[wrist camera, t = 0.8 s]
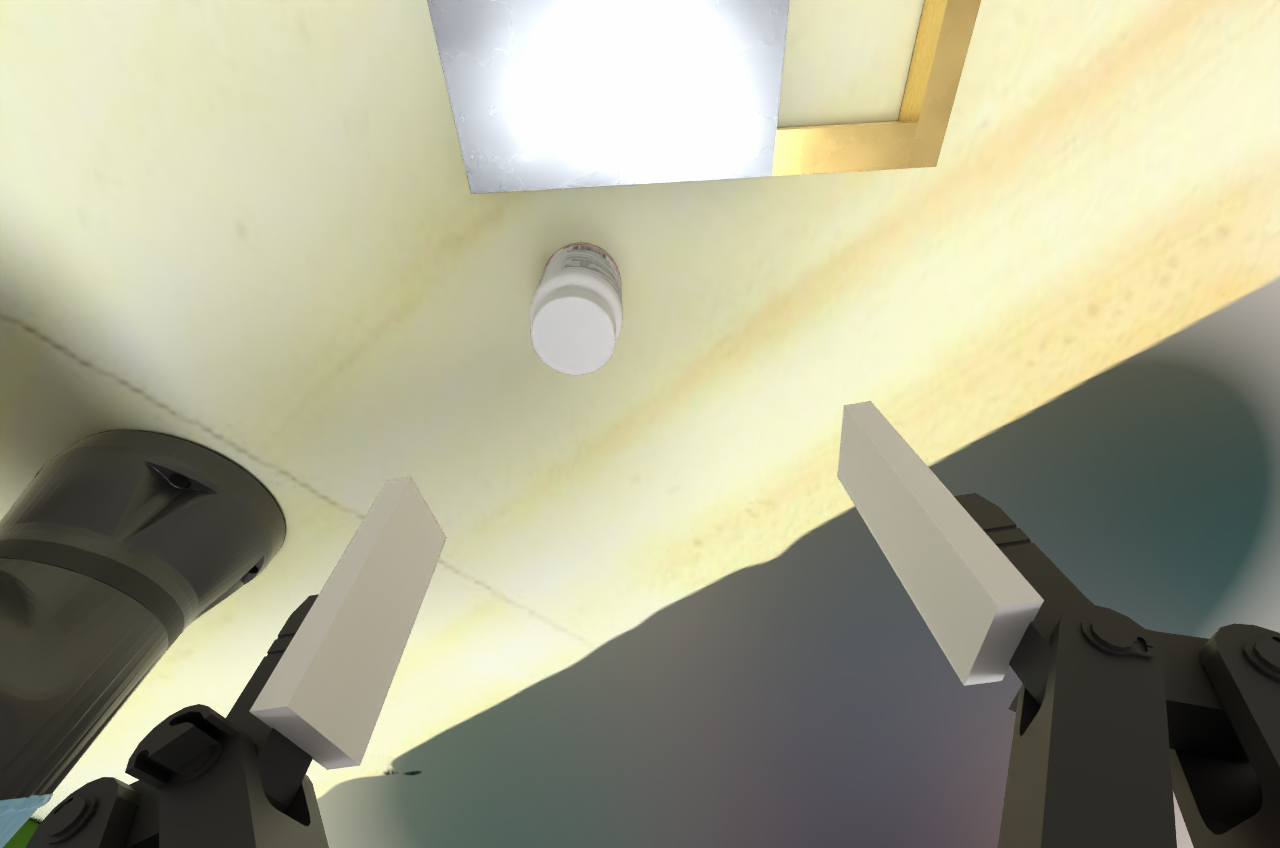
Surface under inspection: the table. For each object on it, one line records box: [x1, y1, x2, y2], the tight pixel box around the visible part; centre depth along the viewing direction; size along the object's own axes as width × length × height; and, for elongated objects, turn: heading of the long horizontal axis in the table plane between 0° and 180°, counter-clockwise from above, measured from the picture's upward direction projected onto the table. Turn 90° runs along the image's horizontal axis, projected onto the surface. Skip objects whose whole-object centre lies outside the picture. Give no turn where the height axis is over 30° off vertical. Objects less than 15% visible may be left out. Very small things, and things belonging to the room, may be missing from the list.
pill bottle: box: [530, 243, 623, 375], centre depth 26 cm, size 5×5×8 cm
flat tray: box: [427, 0, 981, 194], centre depth 22 cm, size 24×11×2 cm, turn 93°
